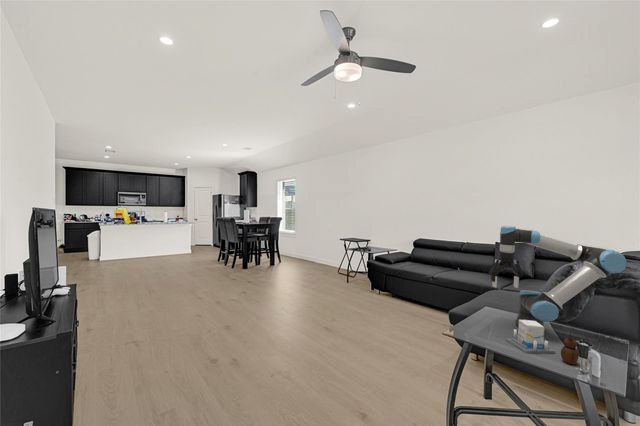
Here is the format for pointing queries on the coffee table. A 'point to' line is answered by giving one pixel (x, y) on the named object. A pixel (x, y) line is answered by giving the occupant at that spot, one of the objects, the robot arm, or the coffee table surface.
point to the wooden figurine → (569, 351)
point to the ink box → (531, 333)
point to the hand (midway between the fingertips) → (505, 287)
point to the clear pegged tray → (525, 349)
